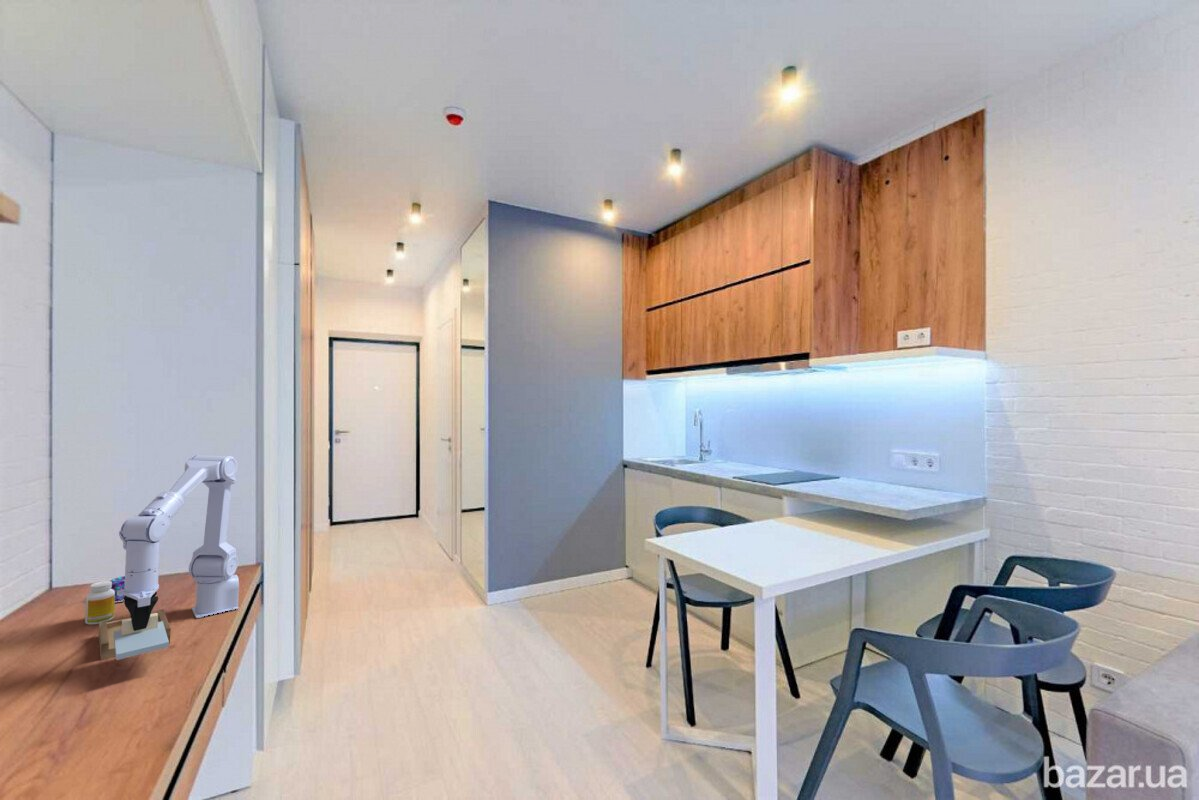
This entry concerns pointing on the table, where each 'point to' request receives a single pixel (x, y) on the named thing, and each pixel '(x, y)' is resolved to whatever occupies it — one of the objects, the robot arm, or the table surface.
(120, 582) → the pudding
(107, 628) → the box
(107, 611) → the supplement bottle
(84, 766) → the table surface
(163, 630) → the lid
